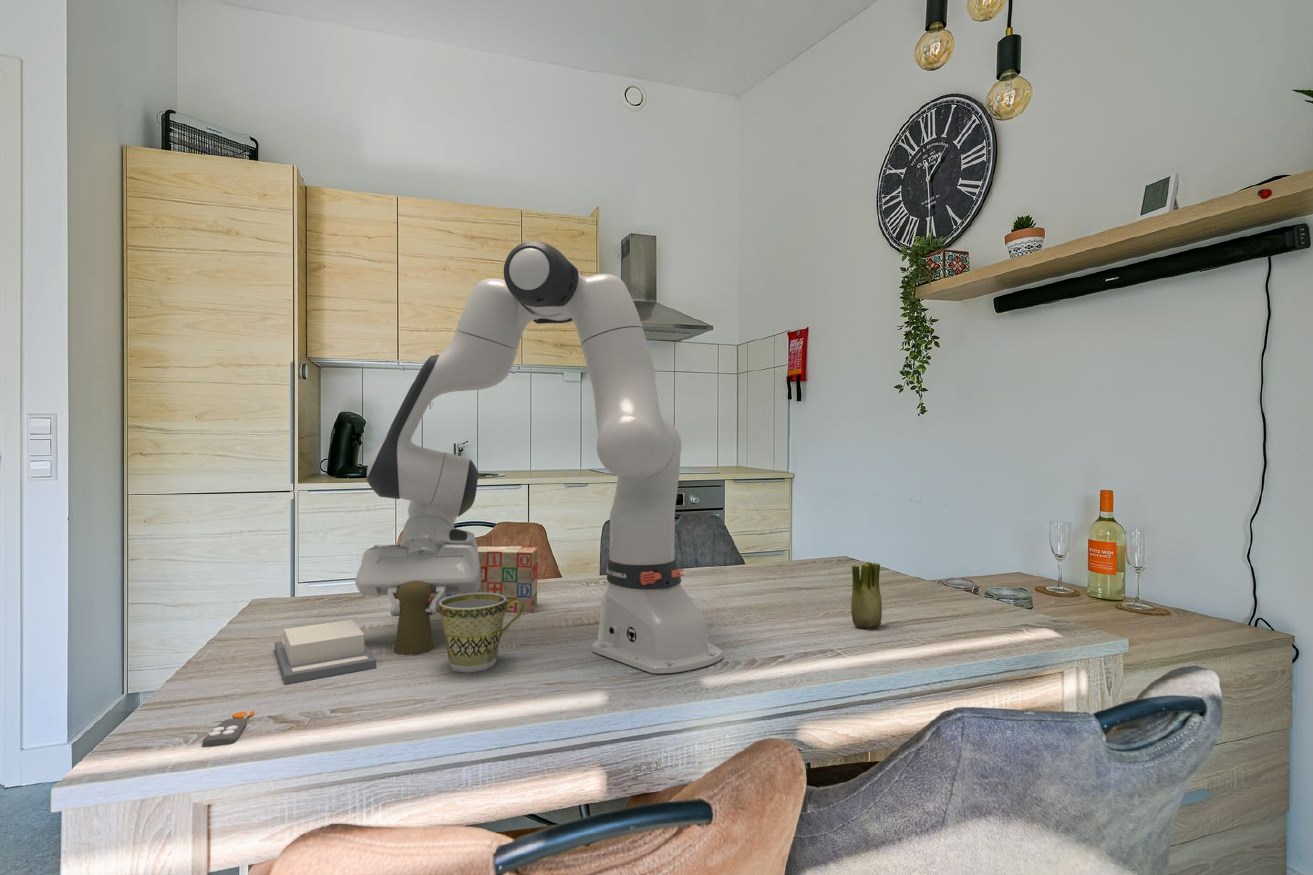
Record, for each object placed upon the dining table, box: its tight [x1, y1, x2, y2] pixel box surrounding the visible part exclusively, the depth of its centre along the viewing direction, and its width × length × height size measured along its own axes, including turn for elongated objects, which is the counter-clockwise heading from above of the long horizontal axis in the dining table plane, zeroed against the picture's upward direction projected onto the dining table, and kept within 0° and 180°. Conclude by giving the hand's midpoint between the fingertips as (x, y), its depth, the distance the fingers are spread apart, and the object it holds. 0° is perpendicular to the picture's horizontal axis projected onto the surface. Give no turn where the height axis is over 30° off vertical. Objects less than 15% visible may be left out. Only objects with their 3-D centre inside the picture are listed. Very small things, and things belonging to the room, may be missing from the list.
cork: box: [393, 581, 434, 656], centre depth 108 cm, size 6×6×11 cm
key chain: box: [201, 706, 260, 748], centre depth 80 cm, size 13×4×2 cm, turn 16°
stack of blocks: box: [428, 545, 539, 613], centre depth 134 cm, size 21×6×12 cm, turn 90°
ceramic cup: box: [439, 593, 524, 674], centre depth 101 cm, size 13×10×10 cm
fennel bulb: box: [850, 561, 883, 630], centre depth 122 cm, size 6×5×12 cm
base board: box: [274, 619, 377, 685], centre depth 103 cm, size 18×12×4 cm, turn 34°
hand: (413, 614), depth 107 cm, fingers closed on cork, 4 cm apart
